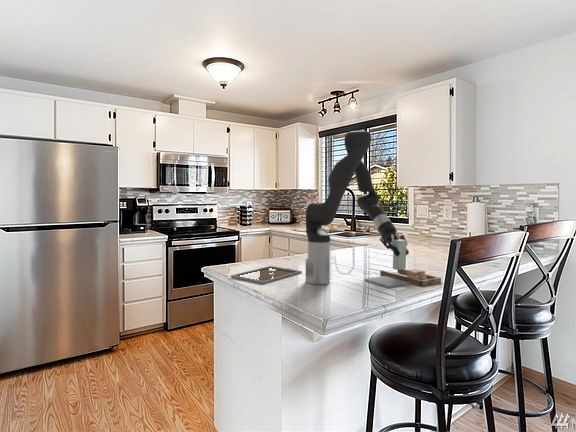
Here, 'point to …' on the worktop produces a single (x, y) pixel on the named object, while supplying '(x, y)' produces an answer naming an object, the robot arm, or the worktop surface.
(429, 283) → the walnut rack
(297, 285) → the worktop surface
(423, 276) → the oak offcut stack
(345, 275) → the worktop surface
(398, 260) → the sage green block
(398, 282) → the slate tile
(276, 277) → the dark grey tray
